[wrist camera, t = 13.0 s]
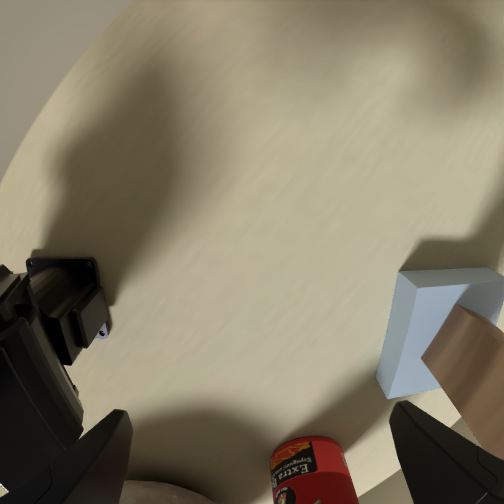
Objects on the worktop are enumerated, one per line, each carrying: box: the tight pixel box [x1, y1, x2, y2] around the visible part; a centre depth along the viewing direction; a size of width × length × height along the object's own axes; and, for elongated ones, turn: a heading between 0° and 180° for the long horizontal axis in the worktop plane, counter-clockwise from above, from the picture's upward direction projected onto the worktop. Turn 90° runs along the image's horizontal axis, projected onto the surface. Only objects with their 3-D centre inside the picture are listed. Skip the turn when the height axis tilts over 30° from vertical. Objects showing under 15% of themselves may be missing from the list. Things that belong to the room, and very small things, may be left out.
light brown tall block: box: [421, 303, 504, 460], centre depth 14 cm, size 5×5×13 cm
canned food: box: [270, 437, 359, 504], centre depth 23 cm, size 8×8×11 cm
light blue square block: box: [375, 267, 504, 399], centre depth 22 cm, size 10×10×4 cm
